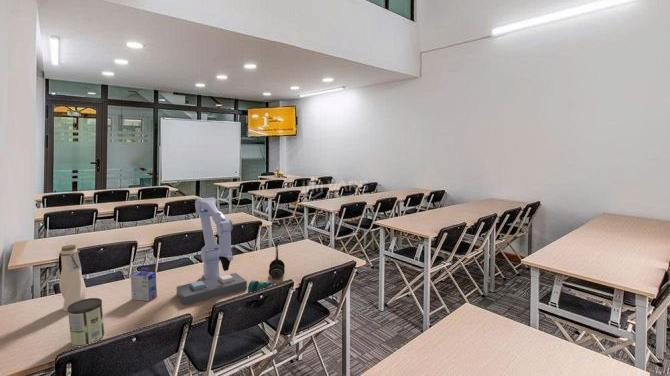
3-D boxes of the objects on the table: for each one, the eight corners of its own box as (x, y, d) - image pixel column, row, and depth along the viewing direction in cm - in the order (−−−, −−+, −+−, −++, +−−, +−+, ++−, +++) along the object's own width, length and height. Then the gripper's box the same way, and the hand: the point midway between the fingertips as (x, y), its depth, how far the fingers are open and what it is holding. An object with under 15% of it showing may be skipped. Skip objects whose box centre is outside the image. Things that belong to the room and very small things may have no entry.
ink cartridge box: (158, 296, 162) (156, 267, 161) (149, 301, 157) (147, 271, 155) (140, 294, 164) (138, 265, 163) (131, 299, 159) (129, 270, 157)
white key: (219, 282, 173) (219, 276, 173) (229, 279, 176) (229, 274, 176) (223, 285, 169) (223, 279, 169) (232, 283, 172) (232, 277, 172)
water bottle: (93, 304, 153) (88, 245, 150) (72, 314, 145) (67, 250, 141) (78, 301, 157) (72, 242, 153) (56, 310, 148) (50, 248, 145)
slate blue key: (191, 289, 164) (190, 283, 164) (201, 286, 168) (201, 280, 167) (194, 292, 161) (193, 286, 160) (204, 290, 164) (204, 284, 163)
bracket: (260, 301, 159) (260, 285, 158) (248, 299, 161) (247, 283, 160) (278, 286, 176) (278, 271, 175) (266, 284, 178) (266, 270, 177)
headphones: (284, 271, 197) (284, 237, 194) (284, 281, 182) (284, 245, 180) (269, 271, 195) (269, 238, 193) (268, 282, 181) (267, 245, 178)
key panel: (176, 294, 165) (176, 286, 164) (236, 279, 183) (235, 272, 183) (184, 305, 154) (184, 296, 154) (246, 288, 173) (246, 281, 172)
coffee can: (83, 332, 131) (80, 297, 129) (110, 332, 132) (108, 297, 130) (63, 348, 121) (59, 310, 119) (92, 347, 121) (89, 310, 120)
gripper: (212, 242, 173) (213, 267, 175) (222, 249, 162) (223, 276, 164) (225, 240, 178) (226, 264, 179) (236, 246, 166) (237, 273, 168)
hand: (225, 270), depth 172 cm, fingers closed
